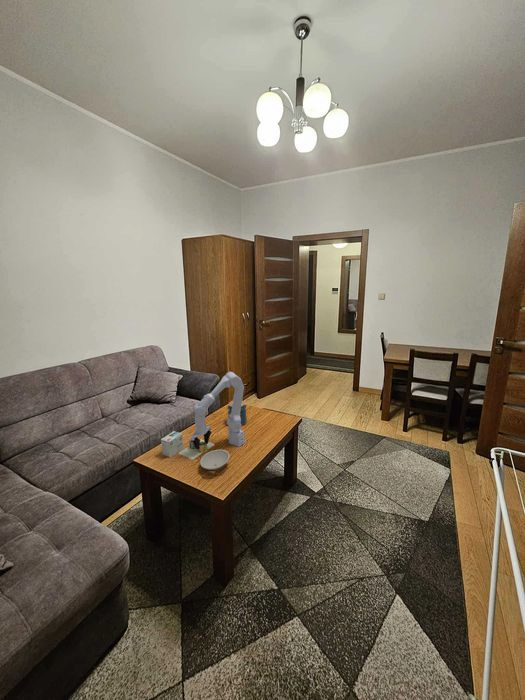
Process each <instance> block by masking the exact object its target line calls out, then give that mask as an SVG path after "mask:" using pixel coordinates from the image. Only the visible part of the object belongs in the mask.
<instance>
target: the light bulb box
mask: <svg viewBox="0 0 525 700" xmlns="http://www.w3.org/2000/svg"><path fill="white" fill-rule="evenodd" d="M160 444H161V453H162V455H163V456H166V457H169V458H172V457H173V456H175V455H176V454H178V453H179V452H180V451H182V450H184V440H183V433H182V432H180V431H179V432H178V431H176V430H172V432H170V433H169V434H167V435H166V436H164V437H162V438H161V439H160Z"/></svg>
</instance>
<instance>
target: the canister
mask: <svg viewBox="0 0 525 700" xmlns="http://www.w3.org/2000/svg"><path fill="white" fill-rule="evenodd" d="M232 404H233V399H232V400H231V401H229V402H228V406H227V419H228V418H229V415H230V414H231V411H232ZM246 408H247V405H246V402H245V401H243V400H242V404H241V411H240V418H241V426H245V425H246V424H247V422H248V420H247V409H246ZM245 423H246V424H245Z"/></svg>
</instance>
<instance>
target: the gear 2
mask: <svg viewBox="0 0 525 700" xmlns="http://www.w3.org/2000/svg"><path fill="white" fill-rule="evenodd" d="M200 443H204V445H202V446H200ZM200 443H199V450H198V449H197V451H198V452H204V451H206V452H208V450H207V443H206V442H203V441H201V442H200ZM204 453H205V452H204Z"/></svg>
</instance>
